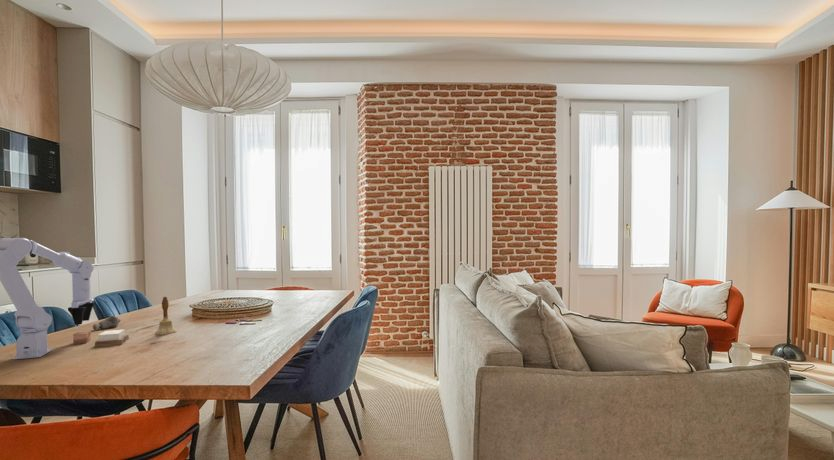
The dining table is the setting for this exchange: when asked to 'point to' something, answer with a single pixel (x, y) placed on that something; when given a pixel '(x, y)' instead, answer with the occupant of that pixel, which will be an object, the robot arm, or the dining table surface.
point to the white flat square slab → (111, 335)
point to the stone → (107, 323)
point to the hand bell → (165, 321)
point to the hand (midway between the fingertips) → (82, 322)
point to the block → (81, 337)
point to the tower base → (112, 342)
